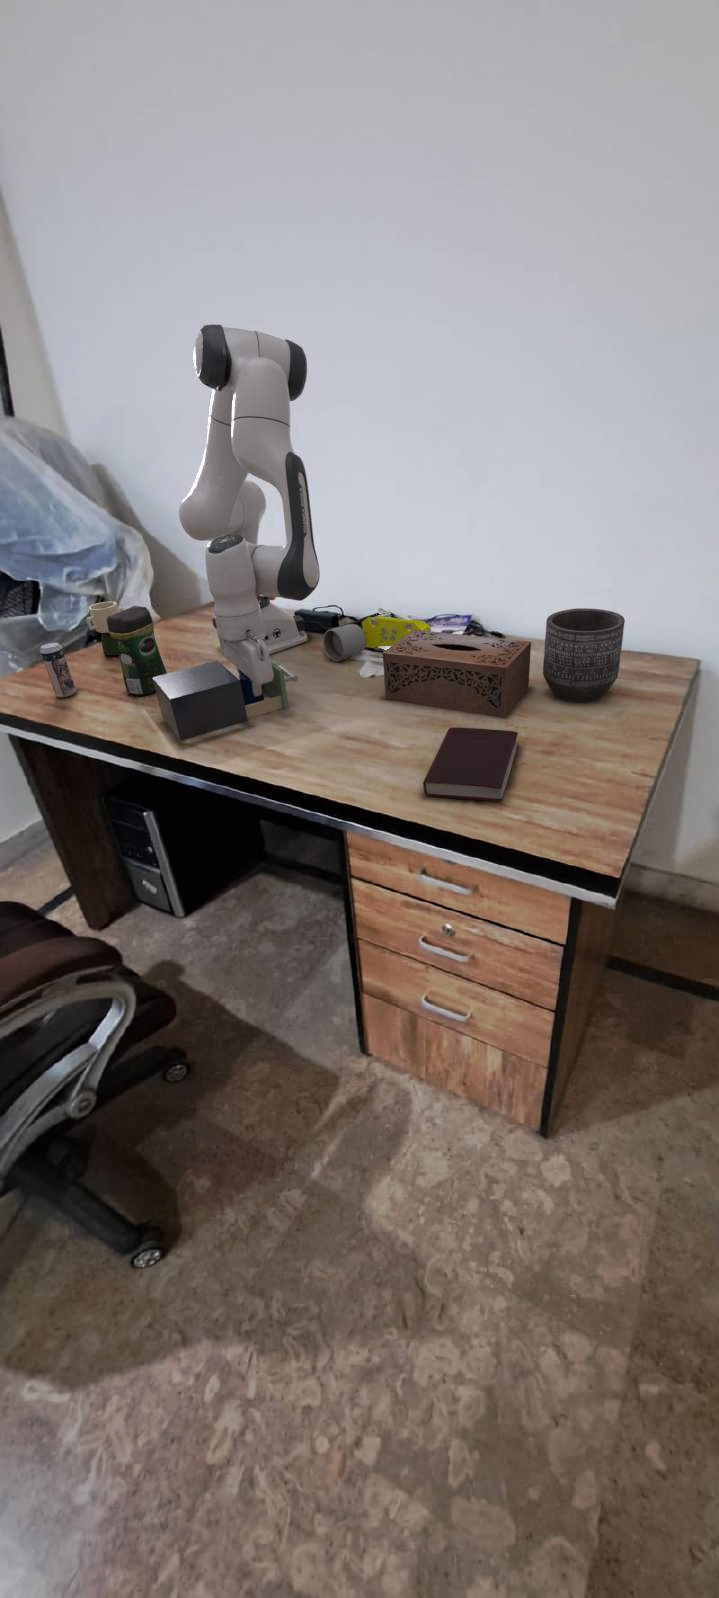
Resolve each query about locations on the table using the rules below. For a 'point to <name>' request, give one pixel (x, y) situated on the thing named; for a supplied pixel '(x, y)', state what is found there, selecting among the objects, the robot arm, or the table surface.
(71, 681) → the beer can
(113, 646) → the character mug
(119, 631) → the coffee jar
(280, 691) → the drawer
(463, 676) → the tissue box cover
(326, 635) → the ceramic mug
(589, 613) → the planter
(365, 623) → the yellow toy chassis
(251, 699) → the glue bottle
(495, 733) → the book
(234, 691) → the drawer unit
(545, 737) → the table surface
